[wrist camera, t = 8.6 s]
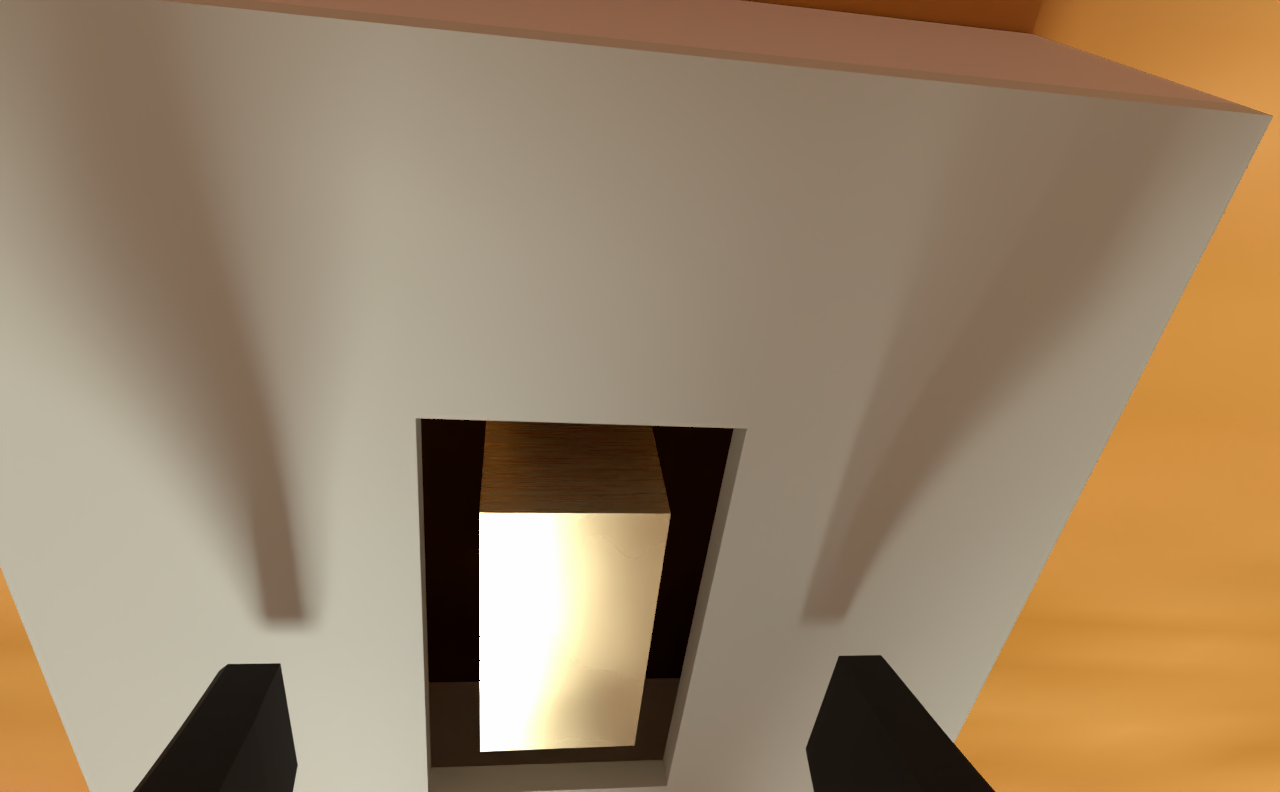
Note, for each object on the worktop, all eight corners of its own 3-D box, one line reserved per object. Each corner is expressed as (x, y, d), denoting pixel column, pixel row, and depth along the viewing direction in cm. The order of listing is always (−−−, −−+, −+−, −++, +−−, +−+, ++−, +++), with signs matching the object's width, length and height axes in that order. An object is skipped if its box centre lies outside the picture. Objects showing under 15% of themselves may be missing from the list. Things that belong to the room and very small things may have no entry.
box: (807, 696, 21) (875, 898, 17) (231, 708, 19) (150, 943, 15) (1033, 34, 13) (1273, 115, 9) (54, -80, 11) (-244, -42, 7)
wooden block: (609, 538, 18) (634, 744, 14) (491, 538, 17) (480, 751, 13) (631, 333, 15) (670, 513, 11) (492, 328, 15) (479, 512, 11)
